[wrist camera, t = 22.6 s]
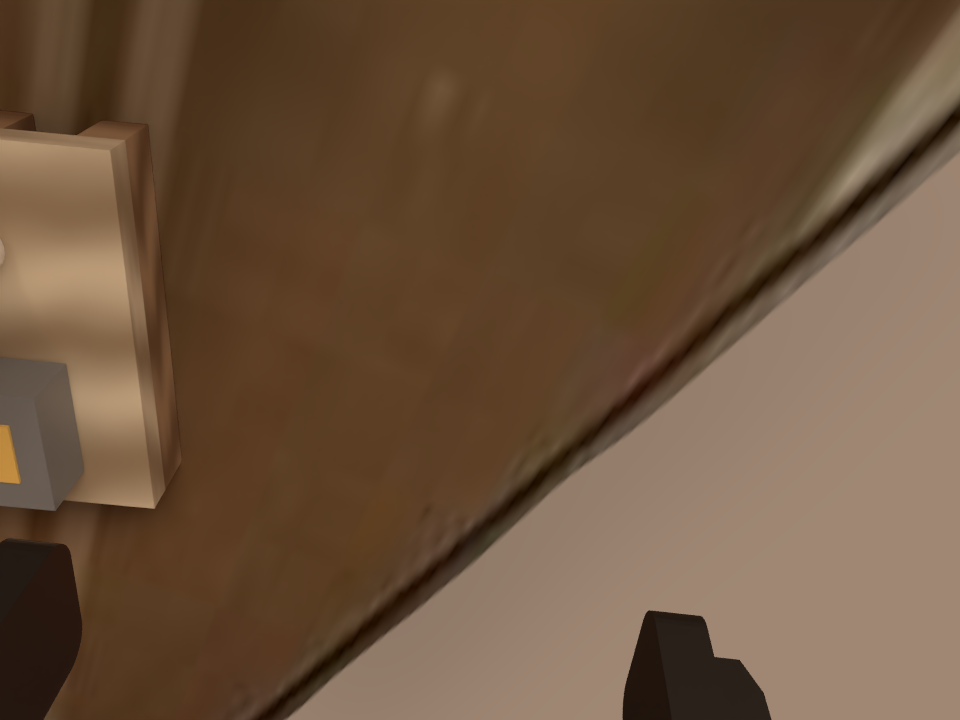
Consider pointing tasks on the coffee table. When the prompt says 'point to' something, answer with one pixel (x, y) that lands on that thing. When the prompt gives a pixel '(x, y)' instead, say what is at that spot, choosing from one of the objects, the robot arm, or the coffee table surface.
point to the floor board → (92, 296)
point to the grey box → (37, 435)
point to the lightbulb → (1, 252)
